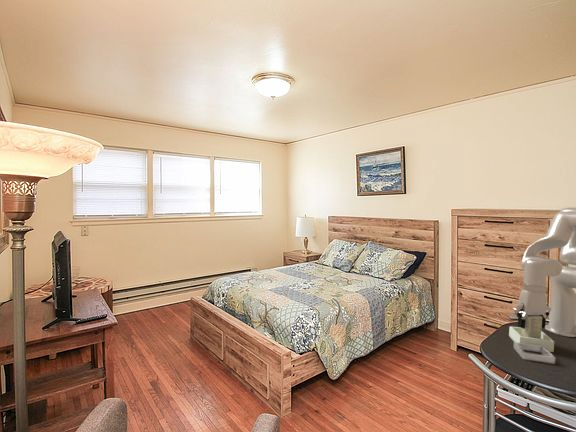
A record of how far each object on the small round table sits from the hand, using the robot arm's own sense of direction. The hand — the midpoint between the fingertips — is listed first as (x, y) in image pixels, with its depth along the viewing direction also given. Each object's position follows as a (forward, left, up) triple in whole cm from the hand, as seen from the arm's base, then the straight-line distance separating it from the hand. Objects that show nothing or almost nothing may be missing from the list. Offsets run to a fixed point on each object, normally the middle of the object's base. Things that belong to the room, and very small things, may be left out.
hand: (531, 327), depth 138 cm
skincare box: (0, 0, -7) cm, 7 cm away
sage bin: (0, 0, -7) cm, 7 cm away
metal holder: (+4, +13, -7) cm, 15 cm away
